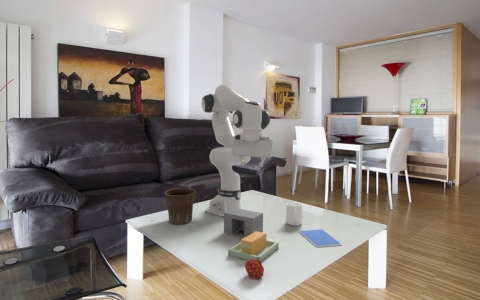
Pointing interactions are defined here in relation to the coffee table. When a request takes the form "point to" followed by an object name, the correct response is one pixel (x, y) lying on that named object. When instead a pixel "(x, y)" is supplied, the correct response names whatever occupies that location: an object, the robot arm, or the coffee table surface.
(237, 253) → the tray
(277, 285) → the coffee table surface
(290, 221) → the mug
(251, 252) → the orange rectangular block
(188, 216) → the plant pot
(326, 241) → the tablet computer
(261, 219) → the block
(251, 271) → the red bumpy oval lump
